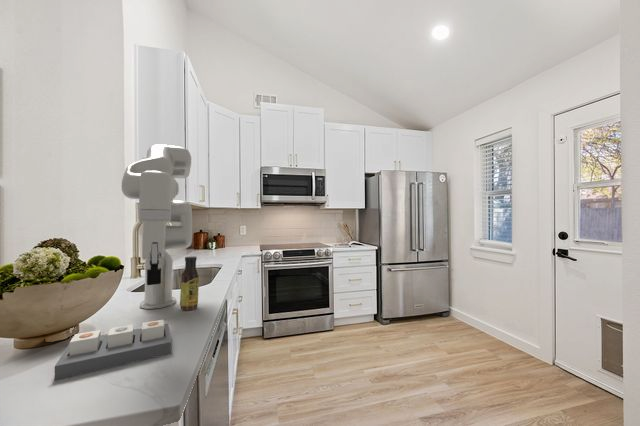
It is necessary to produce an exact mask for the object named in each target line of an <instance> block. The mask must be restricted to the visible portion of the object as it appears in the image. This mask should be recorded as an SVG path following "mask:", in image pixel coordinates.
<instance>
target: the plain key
mask: <svg viewBox="0 0 640 426" xmlns="http://www.w3.org/2000/svg"><path fill="white" fill-rule="evenodd" d="M134 326H135V325H134V324H128V325H123V326H115V327H110V329H109V332H108V333H107V334H108V348H112V347H117V346H122V345H127V344H132V343H133V335H134V328H135V327H134Z"/></svg>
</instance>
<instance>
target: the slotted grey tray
mask: <svg viewBox="0 0 640 426" xmlns="http://www.w3.org/2000/svg"><path fill="white" fill-rule="evenodd" d="M108 334H109V333H107V334H101V345H100V348H99V350H97V351H92V352H86V353H81V354H76V355H71V356H70V343H69V344H68V345H67V347H66V348H65V350H64V352H62V354H61V356H60V358H59V359H58V361H57V362H56V364H55V365H54V377H53V379H54V381H58V380H61V379H65V378H71V377H74V376H80V375H83V374H87V373H92V372H96V371H100V370H105V369H109V368H113V367H118V366H123V365H127V364H132V363H135V362H140V361H144V360H148V359H154V358H157V357H158V358H159V357H162V356H167V355H170V354H172V339H171V332H170V326H169V323H164V337H162V338H157V339H152V340H147V341H142V327H141V328H136V329H134V335H133V343H132V344H127V345H122V346H117V347H112V348H108Z"/></svg>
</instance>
